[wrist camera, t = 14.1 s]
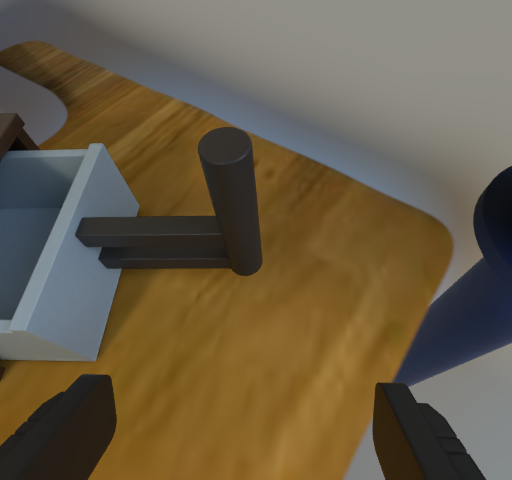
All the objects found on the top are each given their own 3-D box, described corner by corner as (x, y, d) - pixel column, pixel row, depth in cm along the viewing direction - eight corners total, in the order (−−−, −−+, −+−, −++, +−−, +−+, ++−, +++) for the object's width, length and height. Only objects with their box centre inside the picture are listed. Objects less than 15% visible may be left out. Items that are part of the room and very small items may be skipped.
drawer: (264, 203, 23) (256, 59, 15) (261, 364, 17) (244, 285, 9) (-33, 208, 25) (-203, 80, 16) (-128, 357, 19) (-483, 284, 10)
